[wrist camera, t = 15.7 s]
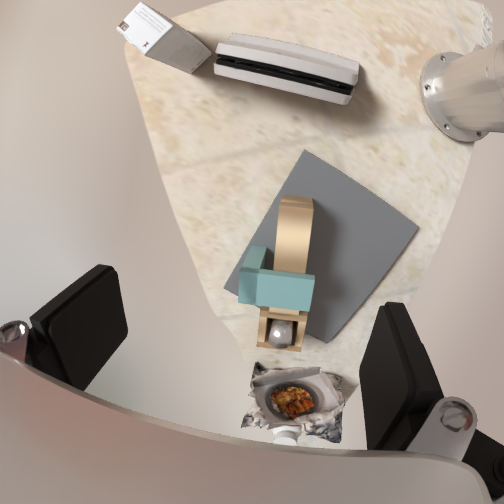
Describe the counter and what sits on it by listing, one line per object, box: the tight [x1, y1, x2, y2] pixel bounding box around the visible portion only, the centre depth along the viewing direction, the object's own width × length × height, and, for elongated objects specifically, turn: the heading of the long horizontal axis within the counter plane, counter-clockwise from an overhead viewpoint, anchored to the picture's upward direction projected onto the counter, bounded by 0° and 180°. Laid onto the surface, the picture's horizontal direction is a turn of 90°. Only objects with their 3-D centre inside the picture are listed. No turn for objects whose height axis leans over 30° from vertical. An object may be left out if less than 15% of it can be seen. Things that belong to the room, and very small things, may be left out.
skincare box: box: [116, 2, 212, 74], centre depth 27 cm, size 6×4×12 cm
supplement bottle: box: [272, 426, 302, 446], centre depth 47 cm, size 5×5×10 cm
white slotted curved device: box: [214, 33, 359, 105], centre depth 28 cm, size 17×5×10 cm, turn 76°
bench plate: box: [224, 150, 418, 343], centre depth 39 cm, size 22×18×1 cm
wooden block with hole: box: [257, 195, 314, 352], centre depth 37 cm, size 19×6×6 cm, turn 177°
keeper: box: [238, 245, 315, 312], centre depth 36 cm, size 4×8×8 cm, turn 87°
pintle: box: [269, 318, 293, 349], centre depth 39 cm, size 3×3×8 cm
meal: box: [241, 362, 345, 443], centre depth 42 cm, size 15×4×13 cm, turn 87°
